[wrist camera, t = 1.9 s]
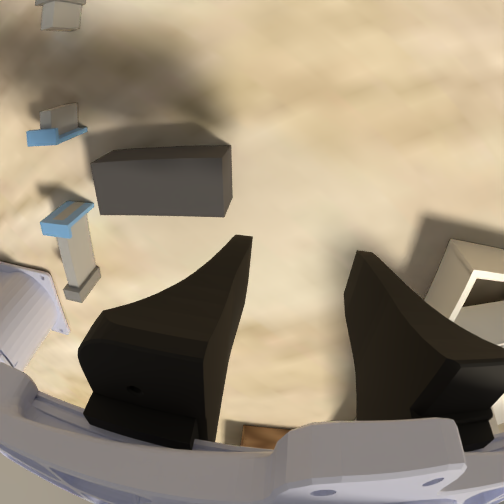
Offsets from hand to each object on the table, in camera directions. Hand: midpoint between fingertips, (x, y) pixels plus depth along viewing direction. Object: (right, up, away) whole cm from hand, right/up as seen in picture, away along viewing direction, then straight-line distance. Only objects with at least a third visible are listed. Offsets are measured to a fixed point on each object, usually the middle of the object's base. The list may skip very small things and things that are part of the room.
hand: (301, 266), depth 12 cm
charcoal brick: (-7, +6, +8) cm, 12 cm away
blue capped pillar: (-14, +8, +7) cm, 18 cm away
